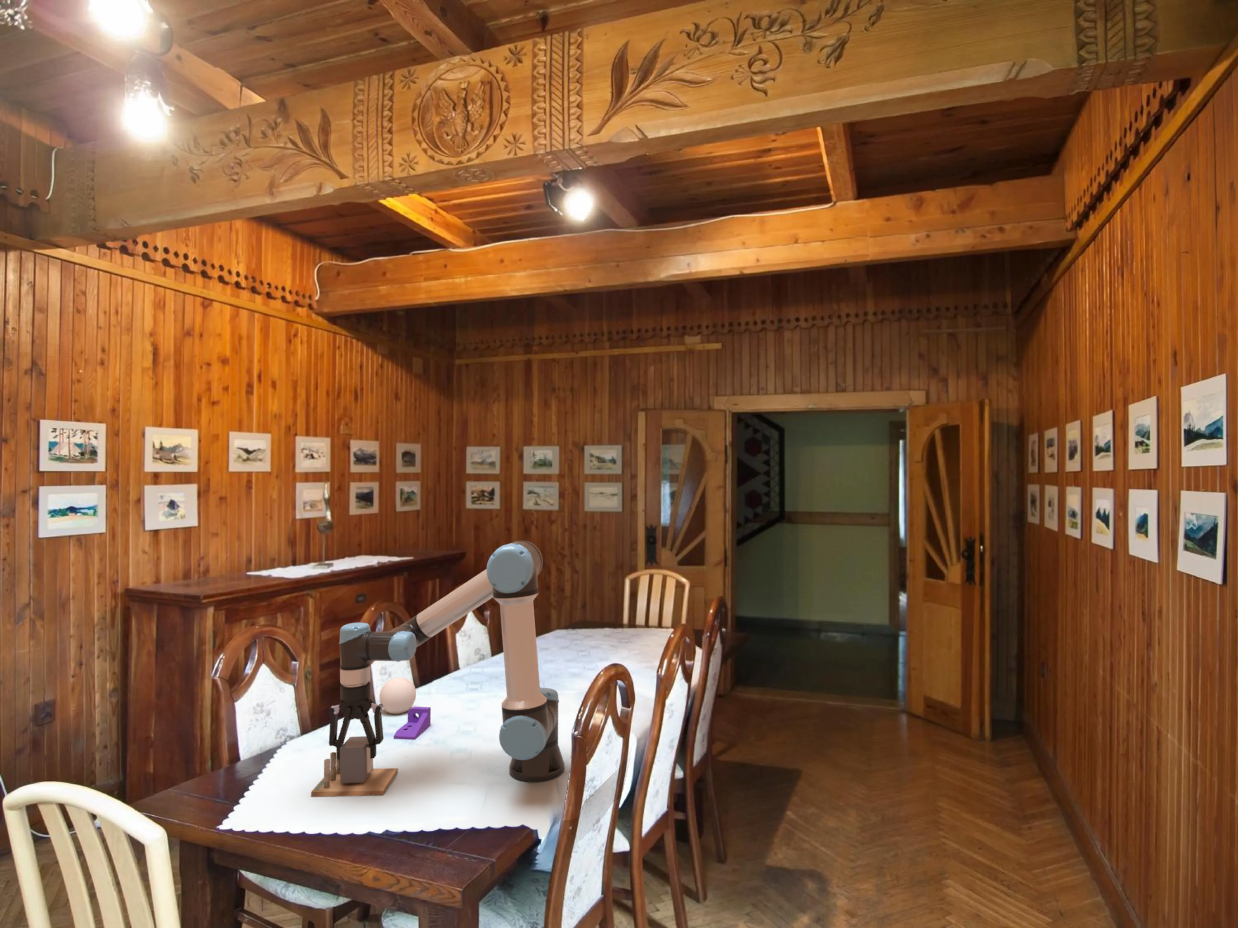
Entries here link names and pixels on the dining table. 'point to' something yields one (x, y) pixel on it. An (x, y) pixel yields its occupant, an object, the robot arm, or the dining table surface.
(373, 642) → the robot arm
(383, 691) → the decorative ball
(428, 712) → the bracket
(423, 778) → the dining table surface
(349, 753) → the block
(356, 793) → the board
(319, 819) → the dining table surface
